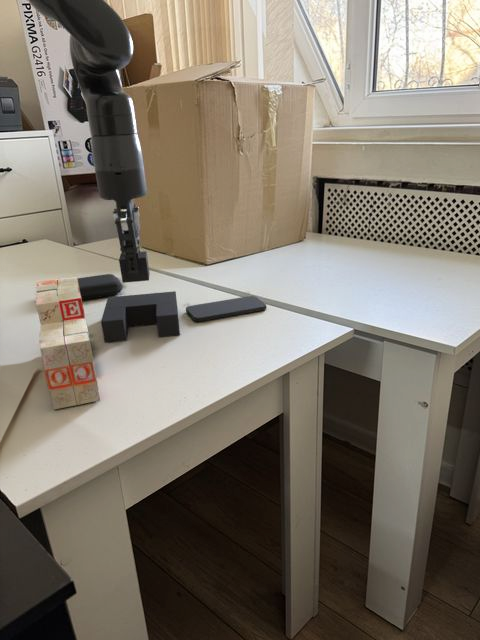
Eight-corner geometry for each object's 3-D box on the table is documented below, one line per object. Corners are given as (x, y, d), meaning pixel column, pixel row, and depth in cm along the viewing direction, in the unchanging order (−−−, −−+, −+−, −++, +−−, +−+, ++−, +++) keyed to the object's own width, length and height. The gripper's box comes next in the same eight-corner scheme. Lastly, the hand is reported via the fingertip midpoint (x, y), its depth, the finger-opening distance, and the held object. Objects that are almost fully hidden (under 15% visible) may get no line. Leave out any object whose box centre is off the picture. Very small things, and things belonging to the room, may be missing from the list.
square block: (122, 282, 85) (118, 259, 84) (124, 275, 89) (120, 253, 88) (149, 280, 86) (145, 257, 84) (149, 273, 90) (146, 251, 88)
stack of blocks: (101, 401, 70) (85, 318, 65) (53, 411, 68) (32, 326, 63) (90, 343, 88) (77, 275, 83) (52, 350, 86) (36, 280, 81)
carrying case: (116, 282, 120) (50, 292, 115) (114, 269, 119) (48, 279, 114) (125, 295, 111) (54, 306, 106) (123, 281, 110) (51, 292, 105)
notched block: (104, 342, 88) (100, 321, 86) (111, 316, 100) (107, 297, 98) (179, 335, 90) (177, 314, 88) (177, 310, 102) (175, 291, 100)
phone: (268, 306, 100) (195, 318, 94) (268, 310, 100) (195, 323, 95) (253, 295, 106) (184, 306, 100) (253, 298, 106) (184, 310, 101)
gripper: (99, 163, 86) (116, 262, 93) (88, 172, 73) (108, 285, 80) (144, 160, 87) (157, 258, 94) (141, 169, 74) (156, 281, 81)
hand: (135, 270), depth 87 cm, fingers closed on square block, 4 cm apart
